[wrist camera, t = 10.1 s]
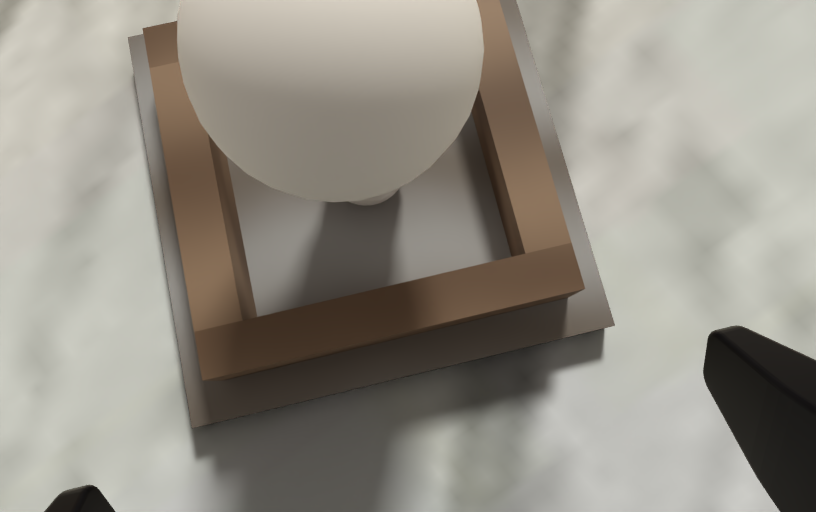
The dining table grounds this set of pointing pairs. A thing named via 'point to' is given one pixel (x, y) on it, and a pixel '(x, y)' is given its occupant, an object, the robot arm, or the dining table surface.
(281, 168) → the lightbulb
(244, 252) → the socket holder
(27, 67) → the dining table surface
